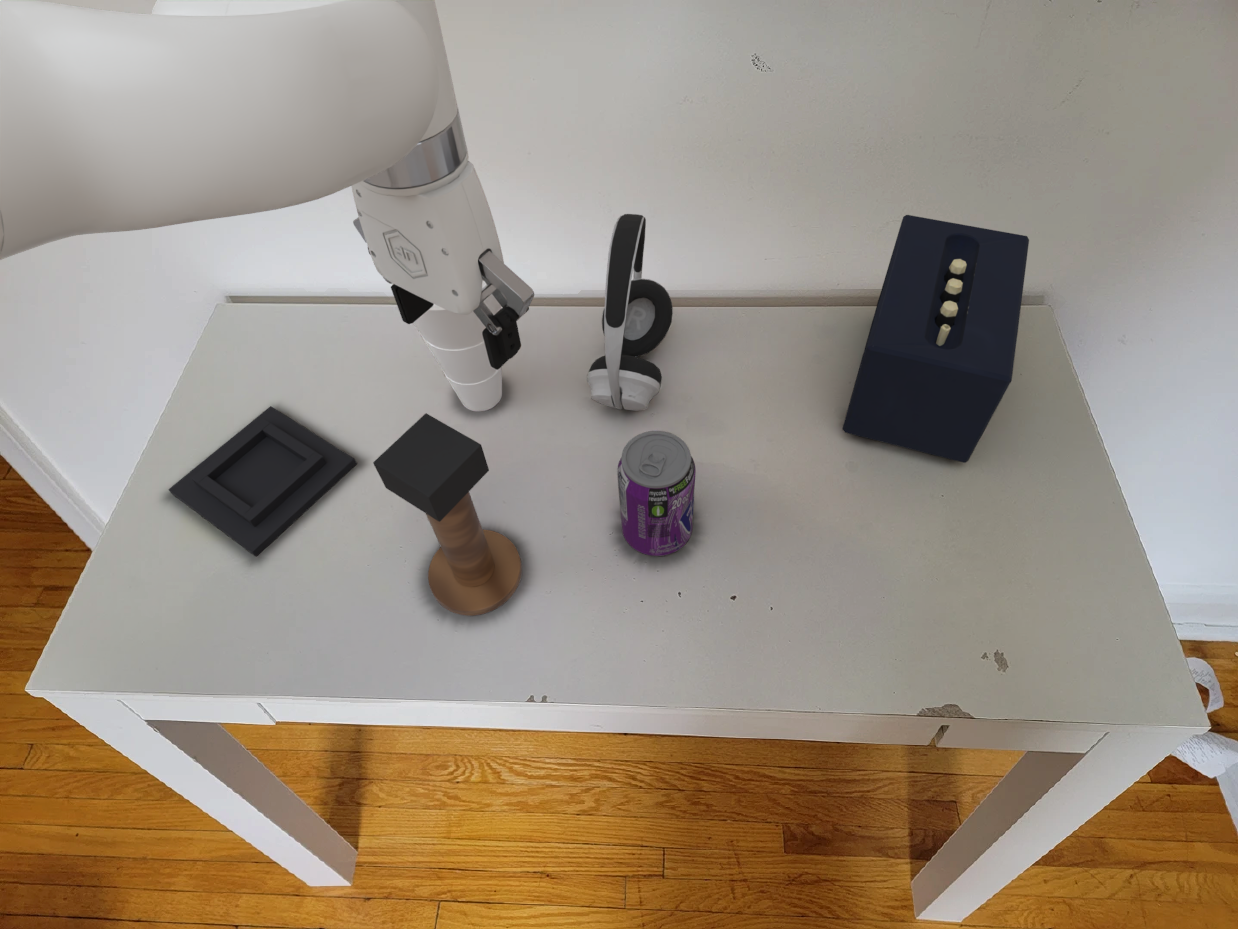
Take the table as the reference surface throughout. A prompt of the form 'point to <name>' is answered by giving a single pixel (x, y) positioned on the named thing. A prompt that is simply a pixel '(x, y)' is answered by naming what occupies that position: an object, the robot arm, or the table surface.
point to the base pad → (263, 479)
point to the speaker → (940, 338)
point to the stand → (471, 563)
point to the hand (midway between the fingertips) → (461, 335)
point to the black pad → (432, 466)
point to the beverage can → (656, 492)
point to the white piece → (463, 354)
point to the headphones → (629, 323)
